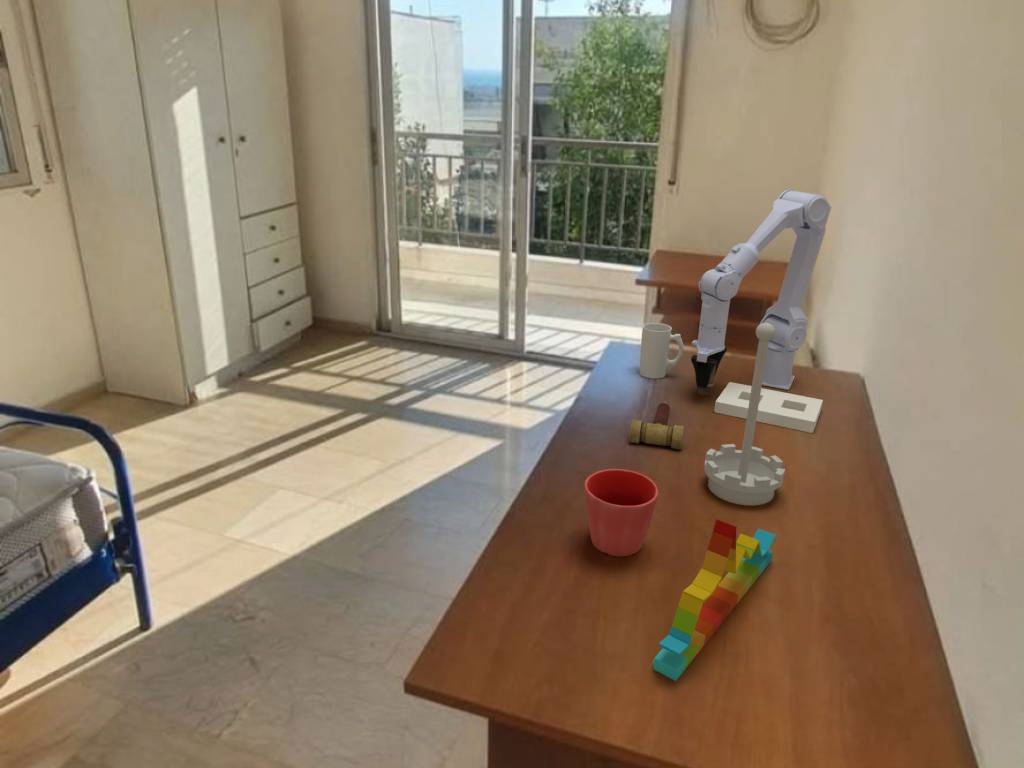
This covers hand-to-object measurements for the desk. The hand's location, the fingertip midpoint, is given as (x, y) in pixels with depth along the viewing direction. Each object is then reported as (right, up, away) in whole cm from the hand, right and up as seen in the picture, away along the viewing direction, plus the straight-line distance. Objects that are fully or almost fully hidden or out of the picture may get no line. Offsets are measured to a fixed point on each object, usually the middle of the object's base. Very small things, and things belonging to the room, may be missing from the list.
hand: (705, 382), depth 163 cm
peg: (0, -3, +1) cm, 3 cm away
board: (+12, -6, -7) cm, 15 cm away
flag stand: (-4, -19, -38) cm, 42 cm away
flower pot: (-28, -25, -54) cm, 65 cm away
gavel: (-13, -10, -15) cm, 22 cm away
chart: (-16, -31, -67) cm, 76 cm away
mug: (-8, +2, +11) cm, 14 cm away
